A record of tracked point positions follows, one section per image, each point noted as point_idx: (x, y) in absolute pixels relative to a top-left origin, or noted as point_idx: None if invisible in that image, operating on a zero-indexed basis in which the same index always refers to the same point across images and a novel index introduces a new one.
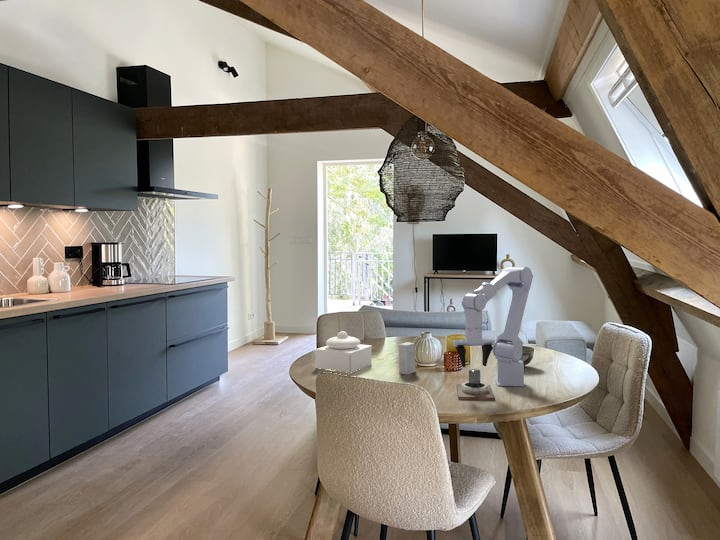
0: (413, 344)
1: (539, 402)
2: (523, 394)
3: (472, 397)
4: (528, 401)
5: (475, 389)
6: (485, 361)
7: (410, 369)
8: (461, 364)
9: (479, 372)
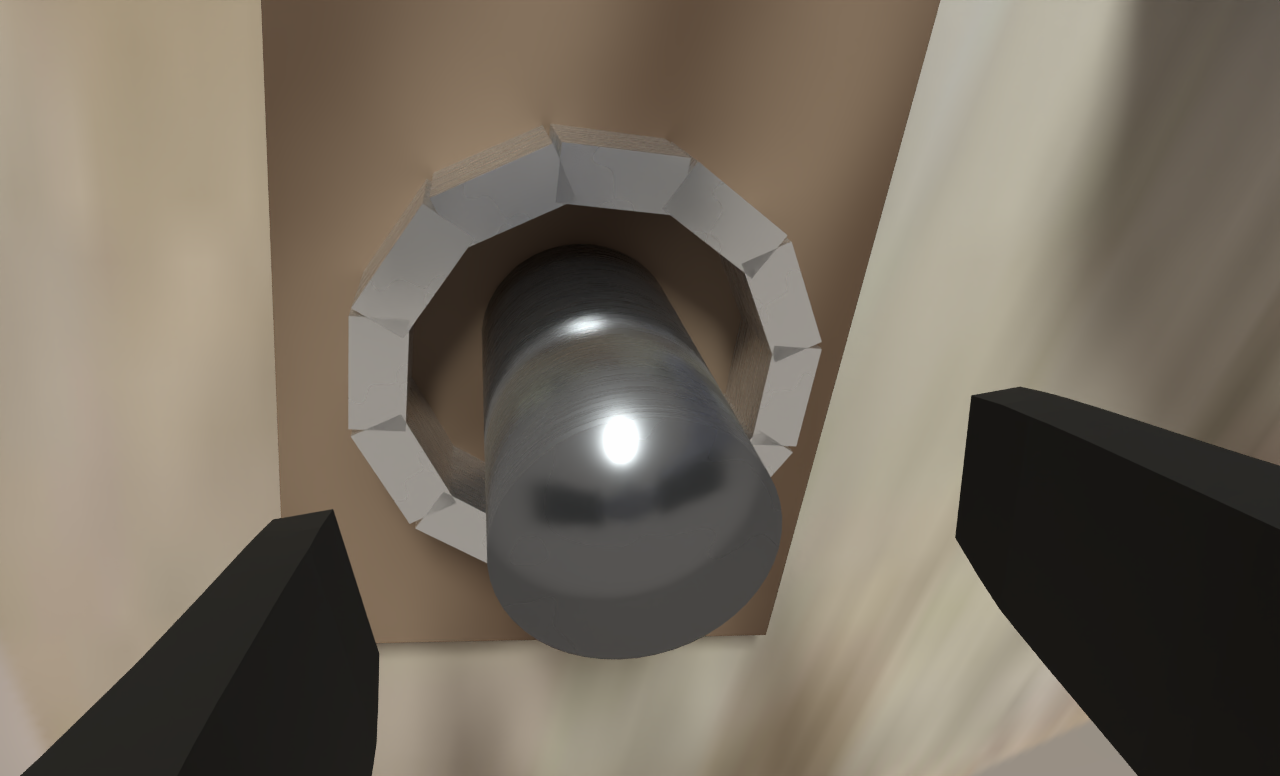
0: None
1: None
2: (1187, 361)
3: (487, 636)
4: None
5: None
6: (1058, 663)
7: None
8: (250, 553)
9: (733, 592)
